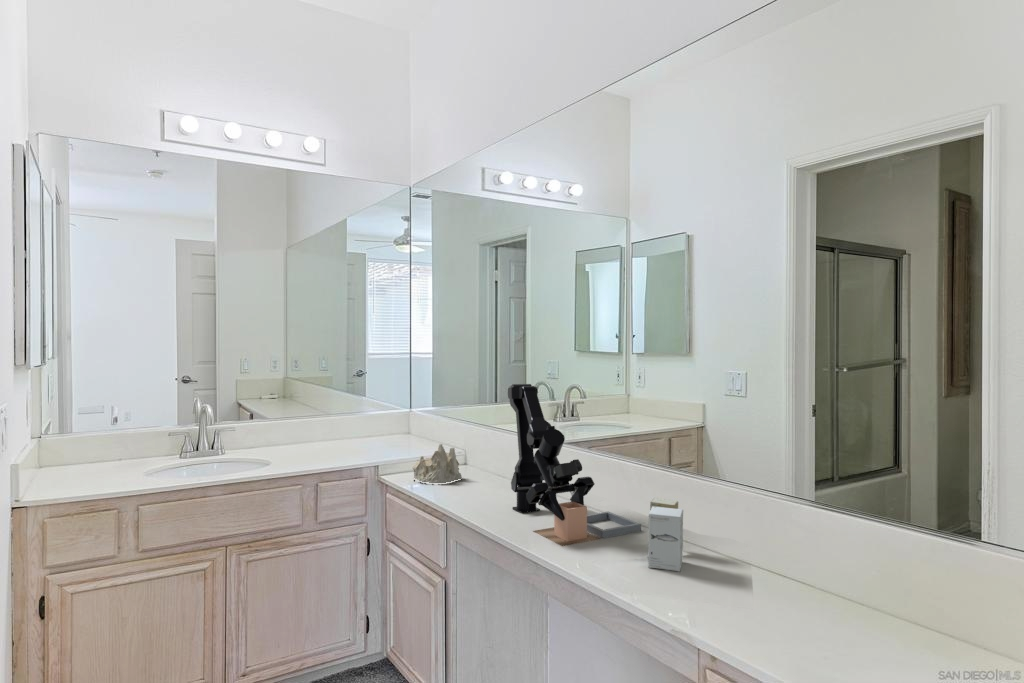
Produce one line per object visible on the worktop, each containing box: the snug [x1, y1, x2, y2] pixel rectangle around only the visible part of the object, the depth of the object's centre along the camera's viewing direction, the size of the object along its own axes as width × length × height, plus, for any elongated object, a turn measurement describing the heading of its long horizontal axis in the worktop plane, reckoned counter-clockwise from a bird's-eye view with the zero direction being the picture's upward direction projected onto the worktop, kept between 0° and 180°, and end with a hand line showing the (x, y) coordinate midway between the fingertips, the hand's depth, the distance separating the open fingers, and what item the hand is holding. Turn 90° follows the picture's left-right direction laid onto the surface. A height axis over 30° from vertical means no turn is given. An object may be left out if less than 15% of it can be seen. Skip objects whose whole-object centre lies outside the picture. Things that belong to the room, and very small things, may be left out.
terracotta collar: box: [553, 501, 588, 541], centre depth 160 cm, size 8×6×8 cm
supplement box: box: [647, 506, 684, 573], centre depth 143 cm, size 7×7×13 cm
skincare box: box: [649, 497, 679, 512], centre depth 153 cm, size 6×4×12 cm
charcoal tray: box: [587, 511, 642, 539], centre depth 167 cm, size 14×13×3 cm
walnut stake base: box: [532, 526, 602, 547], centre depth 161 cm, size 14×12×8 cm
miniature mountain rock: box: [412, 443, 463, 483], centre depth 231 cm, size 16×16×15 cm
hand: (573, 518), depth 158 cm, fingers closed on terracotta collar, 6 cm apart
